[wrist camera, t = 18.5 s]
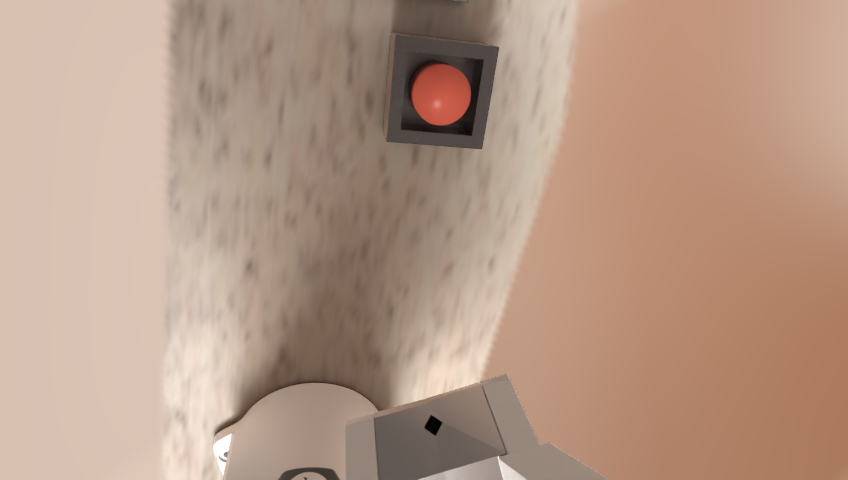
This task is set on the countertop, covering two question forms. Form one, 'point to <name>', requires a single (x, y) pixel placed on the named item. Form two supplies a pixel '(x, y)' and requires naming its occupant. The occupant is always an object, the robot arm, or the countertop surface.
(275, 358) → the countertop surface
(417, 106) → the button
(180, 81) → the countertop surface
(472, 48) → the button housing
